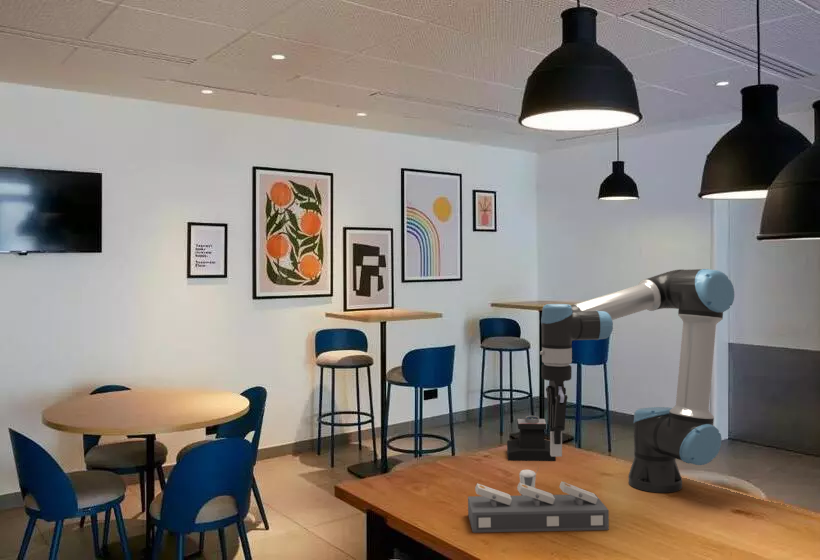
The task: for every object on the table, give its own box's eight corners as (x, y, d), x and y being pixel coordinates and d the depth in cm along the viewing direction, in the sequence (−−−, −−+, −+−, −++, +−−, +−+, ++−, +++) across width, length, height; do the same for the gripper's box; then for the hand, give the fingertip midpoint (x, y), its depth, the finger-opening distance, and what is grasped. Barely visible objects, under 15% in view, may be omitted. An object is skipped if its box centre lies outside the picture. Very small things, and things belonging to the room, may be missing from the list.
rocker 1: (507, 499, 179) (509, 493, 179) (510, 505, 174) (512, 499, 174) (474, 488, 179) (476, 482, 179) (476, 494, 174) (478, 488, 174)
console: (595, 512, 183) (595, 489, 183) (609, 530, 171) (608, 505, 171) (468, 515, 183) (467, 491, 183) (472, 532, 171) (472, 507, 170)
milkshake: (539, 506, 189) (538, 470, 189) (519, 505, 190) (518, 469, 190) (539, 500, 193) (538, 465, 193) (520, 499, 194) (519, 464, 194)
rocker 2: (591, 498, 179) (593, 492, 179) (595, 504, 175) (598, 498, 175) (559, 486, 179) (561, 480, 179) (563, 492, 175) (565, 486, 174)
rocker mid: (549, 498, 179) (551, 492, 179) (553, 505, 175) (555, 498, 175) (516, 487, 179) (519, 481, 179) (519, 493, 174) (522, 487, 174)
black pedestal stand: (508, 422, 232) (506, 409, 247) (508, 463, 234) (506, 448, 248) (555, 423, 230) (550, 409, 245) (555, 464, 232) (551, 448, 247)
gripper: (536, 360, 182) (536, 449, 183) (547, 367, 169) (547, 462, 170) (564, 360, 183) (564, 449, 183) (577, 367, 170) (577, 462, 170)
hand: (556, 455), depth 176 cm, fingers closed
